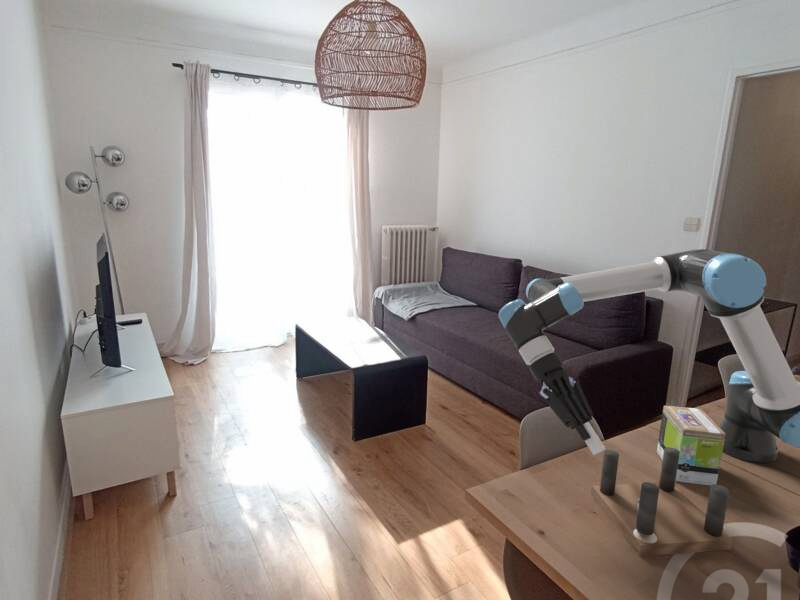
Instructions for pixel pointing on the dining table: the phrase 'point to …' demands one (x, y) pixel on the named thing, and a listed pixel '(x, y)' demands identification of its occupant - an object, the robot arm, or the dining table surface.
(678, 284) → the robot arm
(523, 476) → the dining table surface
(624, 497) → the stool seat
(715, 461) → the tea box
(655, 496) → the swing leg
